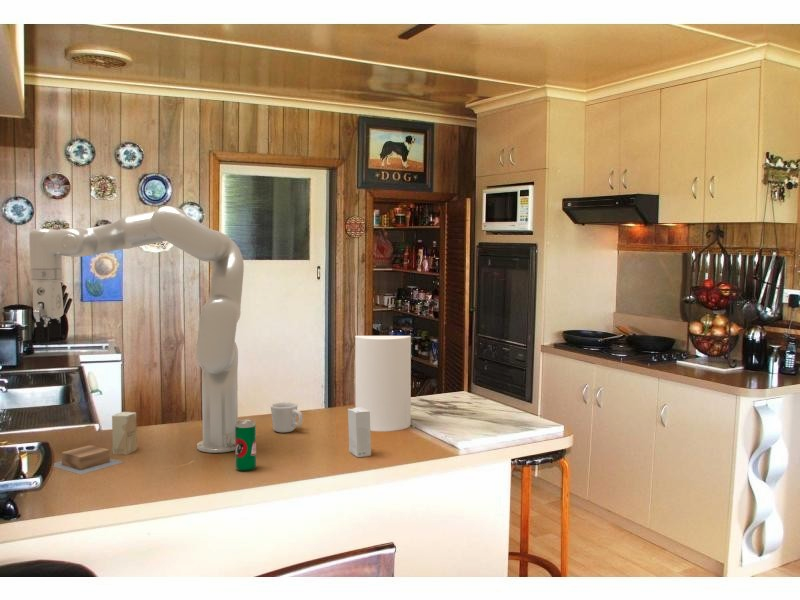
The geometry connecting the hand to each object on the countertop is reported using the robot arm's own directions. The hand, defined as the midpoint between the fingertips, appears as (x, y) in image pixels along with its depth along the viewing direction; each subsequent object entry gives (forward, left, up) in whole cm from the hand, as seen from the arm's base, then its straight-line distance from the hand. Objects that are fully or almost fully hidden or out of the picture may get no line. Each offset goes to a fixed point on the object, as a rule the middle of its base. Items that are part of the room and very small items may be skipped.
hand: (48, 339), depth 188 cm
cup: (-38, -52, -31) cm, 71 cm away
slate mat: (-19, +2, -31) cm, 36 cm away
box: (-18, -10, -31) cm, 37 cm away
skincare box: (-70, -45, -31) cm, 88 cm away
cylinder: (-57, -75, -31) cm, 99 cm away
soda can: (-54, -19, -31) cm, 65 cm away
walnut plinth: (-19, +2, -30) cm, 35 cm away
